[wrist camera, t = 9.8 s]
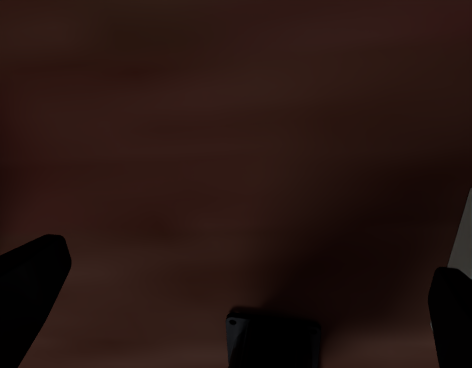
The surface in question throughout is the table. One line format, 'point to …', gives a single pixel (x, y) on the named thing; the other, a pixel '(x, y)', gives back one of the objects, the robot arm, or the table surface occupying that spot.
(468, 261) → the sleeve box
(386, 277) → the table surface
